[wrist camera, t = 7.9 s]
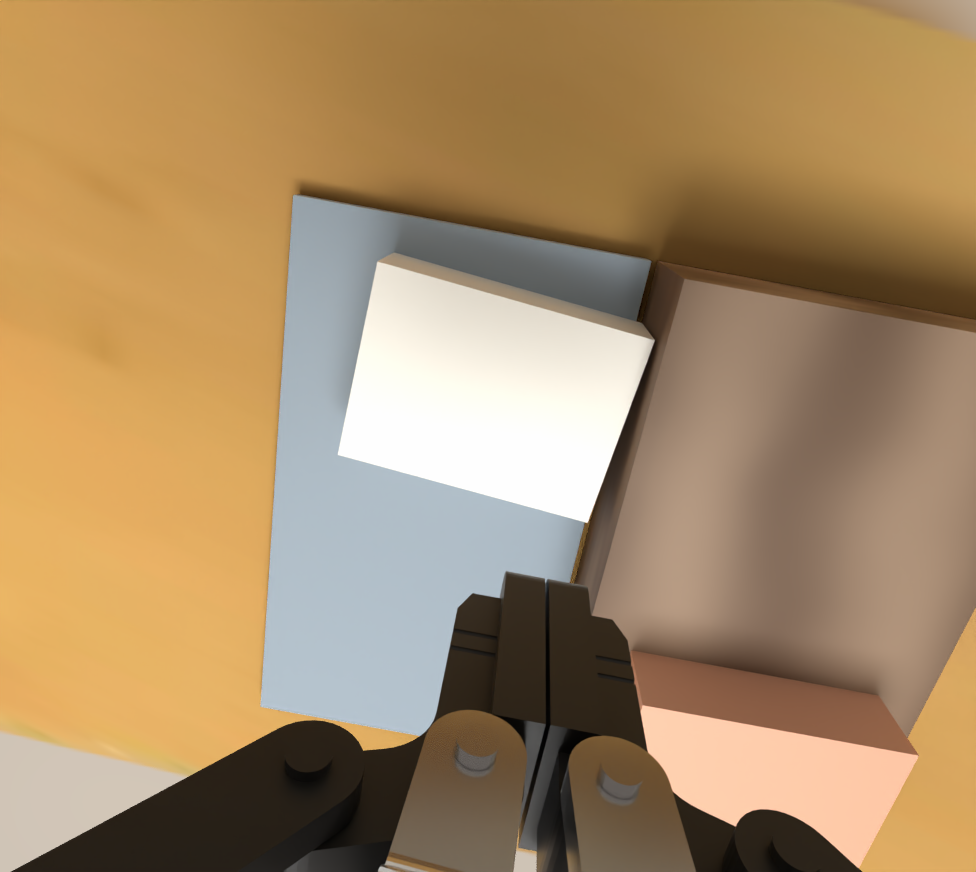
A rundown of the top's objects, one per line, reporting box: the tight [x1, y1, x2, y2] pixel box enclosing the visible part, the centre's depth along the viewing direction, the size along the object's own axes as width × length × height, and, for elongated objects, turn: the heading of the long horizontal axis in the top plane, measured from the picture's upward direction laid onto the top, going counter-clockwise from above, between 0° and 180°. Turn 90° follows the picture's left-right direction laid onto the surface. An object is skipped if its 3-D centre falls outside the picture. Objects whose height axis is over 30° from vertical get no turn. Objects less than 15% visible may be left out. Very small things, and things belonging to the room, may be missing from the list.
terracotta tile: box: [630, 650, 919, 868], centre depth 22 cm, size 8×6×2 cm
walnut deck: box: [574, 261, 976, 738], centre depth 23 cm, size 11×20×4 cm, turn 170°
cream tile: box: [338, 253, 655, 523], centre depth 21 cm, size 8×6×2 cm
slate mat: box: [261, 194, 651, 736], centre depth 24 cm, size 11×20×1 cm, turn 170°
